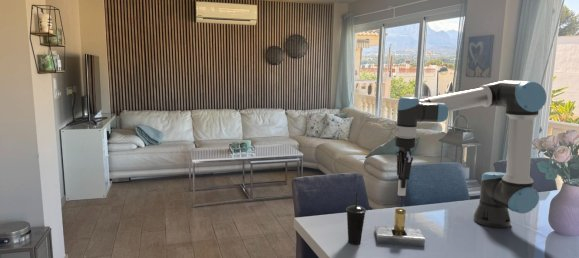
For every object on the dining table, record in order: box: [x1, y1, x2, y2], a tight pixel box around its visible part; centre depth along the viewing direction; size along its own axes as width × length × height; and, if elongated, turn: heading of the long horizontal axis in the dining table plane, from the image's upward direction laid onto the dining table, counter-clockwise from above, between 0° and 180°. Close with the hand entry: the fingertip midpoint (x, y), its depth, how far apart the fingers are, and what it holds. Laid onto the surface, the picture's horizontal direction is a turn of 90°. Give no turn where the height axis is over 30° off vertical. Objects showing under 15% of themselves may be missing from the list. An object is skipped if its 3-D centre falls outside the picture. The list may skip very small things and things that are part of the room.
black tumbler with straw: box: [345, 192, 367, 246], centre depth 162 cm, size 8×8×20 cm
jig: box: [374, 225, 426, 247], centre depth 168 cm, size 18×12×3 cm, turn 83°
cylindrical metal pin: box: [393, 208, 407, 236], centre depth 168 cm, size 4×4×12 cm
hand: (401, 195), depth 166 cm, fingers closed
